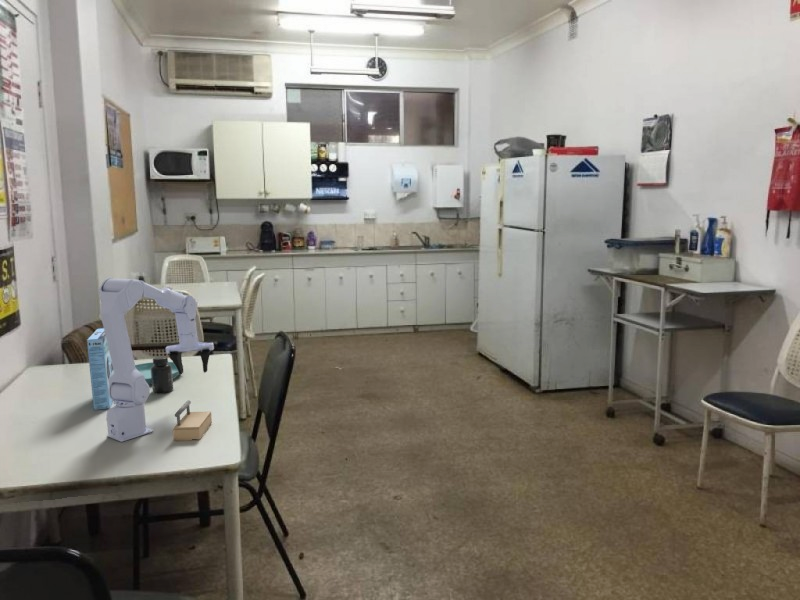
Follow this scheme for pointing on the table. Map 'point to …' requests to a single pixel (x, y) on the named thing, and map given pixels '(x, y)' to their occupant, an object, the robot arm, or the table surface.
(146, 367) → the saucer
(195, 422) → the lid
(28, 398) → the table surface
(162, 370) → the supplement bottle
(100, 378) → the gum box
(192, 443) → the table surface
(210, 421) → the carton
